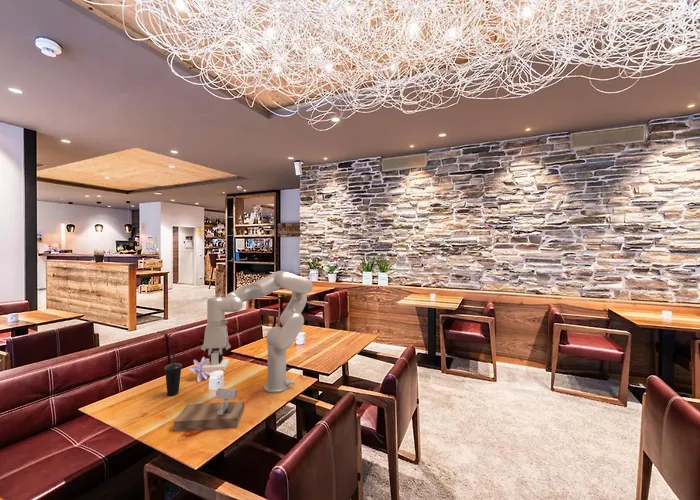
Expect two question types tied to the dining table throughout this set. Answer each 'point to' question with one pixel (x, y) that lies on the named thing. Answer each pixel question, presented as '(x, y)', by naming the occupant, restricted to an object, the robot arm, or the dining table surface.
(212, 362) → the cover
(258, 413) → the dining table surface
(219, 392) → the latch
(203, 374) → the water lily
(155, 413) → the dining table surface
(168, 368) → the drinking cup
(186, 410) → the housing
